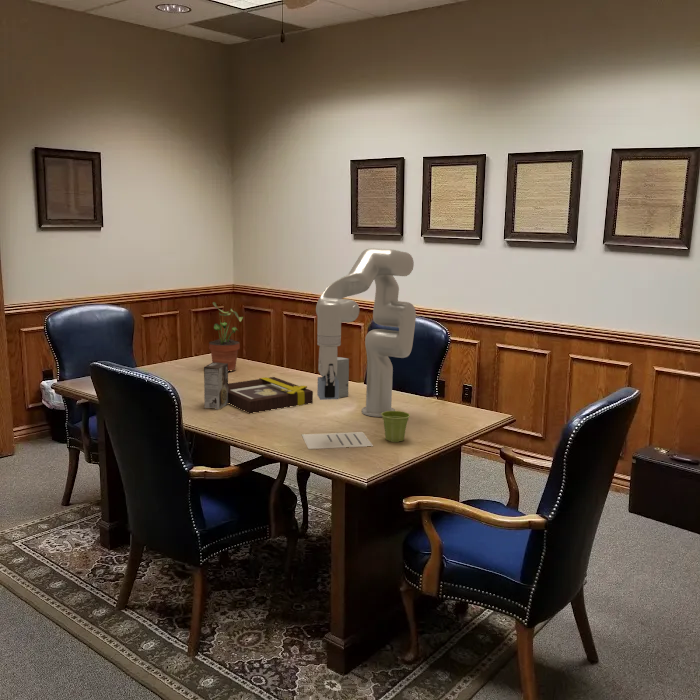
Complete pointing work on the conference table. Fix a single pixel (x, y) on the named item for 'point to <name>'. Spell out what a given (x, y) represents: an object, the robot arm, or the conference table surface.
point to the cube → (322, 388)
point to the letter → (336, 440)
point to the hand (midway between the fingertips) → (328, 394)
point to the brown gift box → (267, 394)
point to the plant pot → (395, 425)
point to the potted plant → (225, 344)
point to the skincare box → (343, 376)
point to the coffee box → (216, 385)
